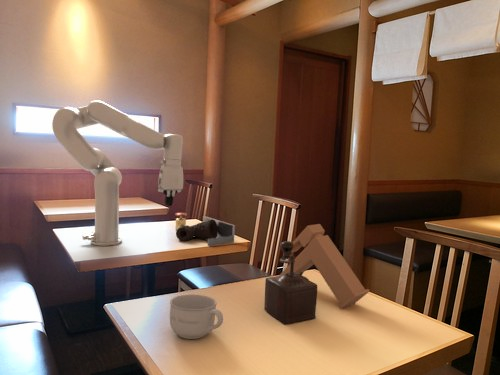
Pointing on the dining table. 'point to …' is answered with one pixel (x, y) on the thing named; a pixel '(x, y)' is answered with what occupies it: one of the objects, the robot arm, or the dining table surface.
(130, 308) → the dining table surface
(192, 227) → the pipe
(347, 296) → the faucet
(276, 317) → the pepper mill
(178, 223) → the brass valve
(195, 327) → the teacup
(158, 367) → the dining table surface
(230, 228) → the grey angle bracket
